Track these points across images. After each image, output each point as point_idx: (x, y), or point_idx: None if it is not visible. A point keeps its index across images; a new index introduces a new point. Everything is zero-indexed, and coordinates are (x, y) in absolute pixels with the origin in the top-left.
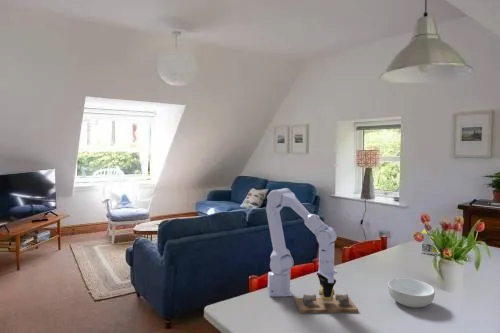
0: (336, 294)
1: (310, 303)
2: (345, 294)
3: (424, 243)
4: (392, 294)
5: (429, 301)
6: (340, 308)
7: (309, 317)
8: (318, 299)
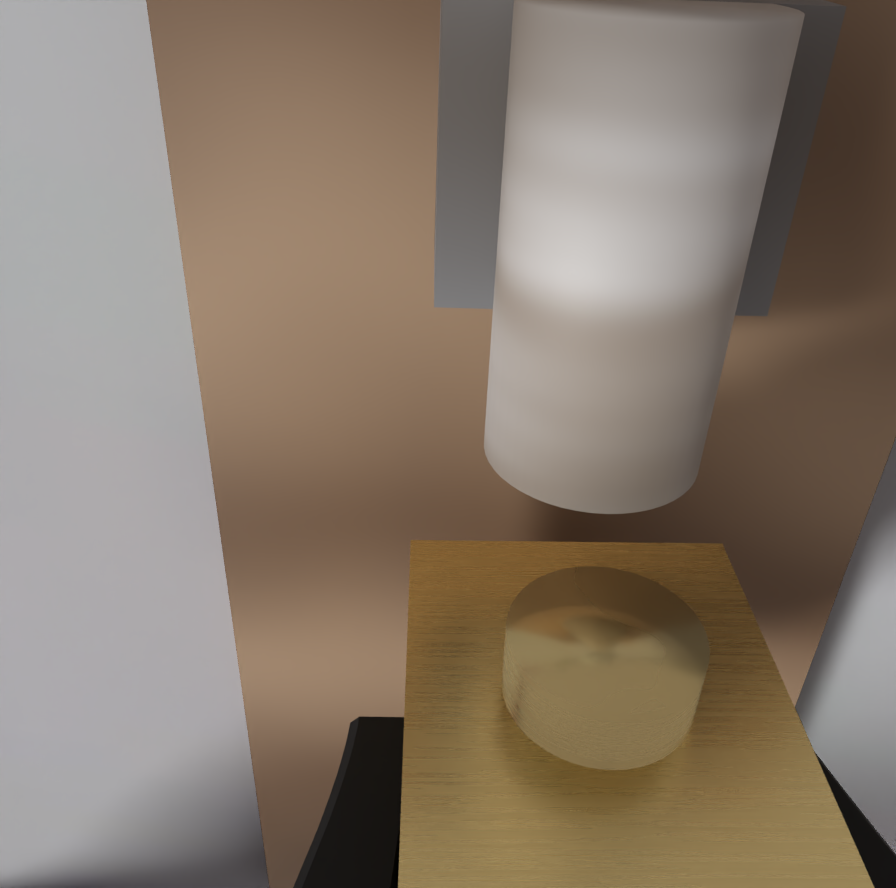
0: (625, 503)
1: None
2: (696, 142)
3: None
4: None
5: None
6: (887, 324)
7: (869, 813)
8: (320, 657)
